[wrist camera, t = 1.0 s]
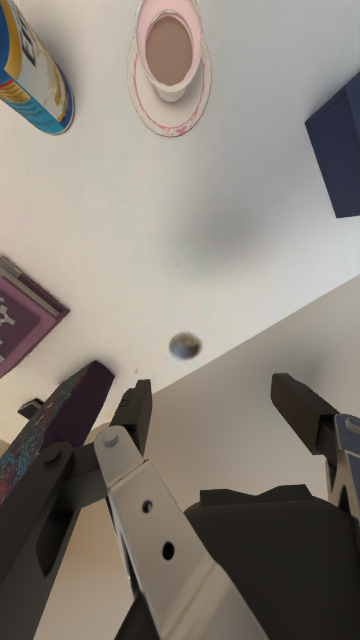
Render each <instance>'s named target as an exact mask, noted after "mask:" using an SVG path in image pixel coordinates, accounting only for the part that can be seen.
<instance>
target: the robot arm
mask: <svg viewBox="0 0 360 640" xmlns="http://www.w3.org/2000/svg"><path fill="white" fill-rule="evenodd" d="M271 400H272V403H273V404H274V406H275V407H276V408H277V410H278V411H279V412H280V414H281V415H282V416H283V417H284V419H285V420H286V421H287V423H288V424H289V425H290V426H291V428H292V429H293V430H294V432H295V433H296V434H297V435H298V437H299V438H300V439H301V440H302V442H303V443H304V444H305V446H306V447H307V448H308V450H309V451H310V452H311V453H312V455H324V456H325V457H326V461H325V467H326V479H327V489H328V502H327V501H325V500H323V499H320V498H317V497H315V496H312V495H311V493H310V492H309V490H308V488H307V487H306V485H305V484H301V485H284V486H278V487H275V488H273V489H271V490H269V491H266V492H264V493H262V494H260V495H257V496H254V495H248V494H245V493H241V492H236V491H233V490H229V489H216V490H215V489H214V490H200V502H197V503H195V504H193V505H192V506H190V507H189V508H188V509H186V510H185V511H184V512H182V510H181V508H180V507H179V505H178V504H177V502H176V500H175V499H174V497H173V496H172V494H171V492H170V491H169V489H168V488H167V486H166V484H165V483H164V481H163V480H162V478H161V476H160V475H159V473H158V472H157V470H156V468H155V467H154V465H153V464H152V462H151V461H150V460H149V459H147V460H146V461H145V460H144V459H143V456H144V450H145V444H146V439H147V434H148V429H149V423H150V417H151V412H152V392H151V382H150V379H146V380H138V381H137V384H136V387H135V388H130V389H129V390H127V391H126V392H125V393H124V395H123V397H122V399H121V402H120V404H119V407H118V408H117V410H116V412H115V415H114V417H113V419H112V421H111V423H110V426H109V427H108V428H107V429H105V430H103V431H102V432H101V433H100V434H99V435H98V436H97V437H96V439H95V441H94V442H92V443H90V444H87V445H84V446H81V447H78V448H75V449H73V447H72V444H71V443H70V442H66V441H63V442H58V443H55V444H53V445H51V446H49V447H47V448H46V449H44V450H43V451H42V452H41V453H40V454H39V455H38V456H37V457H36V458H35V459H34V460H33V462H32V463H31V465H30V466H29V467H28V469H27V470H26V471H25V473H24V474H23V476H22V477H21V478H20V480H19V481H18V482H17V484H16V485H15V486H14V488H13V489H12V491H11V492H10V493H9V495H8V496H7V497H6V499H5V500H4V502H3V503H2V504H1V506H0V640H33V638H34V635H35V633H36V630H37V627H38V625H39V622H40V619H41V617H42V614H43V611H44V608H45V606H46V603H47V600H48V597H49V595H50V592H51V589H52V587H53V584H54V581H55V578H56V576H57V573H58V570H59V568H60V565H61V562H62V559H63V557H64V554H65V551H66V549H67V546H68V543H69V540H70V538H71V535H72V532H73V529H74V527H75V524H76V521H77V519H78V516H79V513H80V510H81V508H83V507H85V506H87V505H90V504H92V503H94V502H96V501H99V500H101V499H103V498H104V499H105V503H106V506H107V509H108V513H109V516H110V520H111V523H112V526H113V530H114V533H115V537H116V540H117V543H118V547H119V551H120V555H121V559H122V563H123V567H124V571H125V574H126V578H127V581H128V584H129V588H130V591H131V595H132V598H133V604H132V606H131V608H130V610H129V612H128V614H127V616H126V617H125V620H124V621H123V623H122V625H121V627H120V629H119V631H118V633H117V635H116V637H115V639H114V640H360V418H358V417H355V416H352V415H348V414H341V413H340V412H338V411H337V410H336V409H335V408H333V407H332V406H331V405H330V404H329V403H327V402H326V401H325V400H324V399H322V398H321V397H319V395H318V394H316V393H315V392H313V390H311V389H310V388H309V387H308V386H306V385H305V384H303V383H301V382H299V381H297V380H295V379H293V378H292V377H291V376H290V375H289V374H287V373H275V374H273V376H272V384H271Z"/></svg>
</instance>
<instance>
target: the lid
mask: <svg viewBox="0 0 360 640" xmlns="http://www.w3.org/2000/svg"><path fill="white" fill-rule="evenodd" d="M345 88H346V92H347V96H348V100H349V104H350V108H351V112H352V116H353V120H354V124H355V128H356V132H357V136H358V140H359V144H360V72H359V73H358V74H356V75H355V76H354V77H353V78H352V79H351V80H350V81H349V82H348V83H347V84H346V85H345Z"/></svg>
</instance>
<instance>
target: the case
mask: <svg viewBox="0 0 360 640" xmlns="http://www.w3.org/2000/svg"><path fill="white" fill-rule="evenodd" d="M305 125H306V128H307V131H308V134H309V137H310V140H311V143H312V146H313V149H314V152H315V155H316V158H317V161H318V164H319V167H320V170H321V173H322V175H323V178H324V181H325V184H326V187H327V190H328V193H329V196H330V199H331V202H332V205H333V208H334V211H335V214H336V217H337V218H344V217H352V216H359V215H360V144H359V140H358V136H357V132H356V128H355V124H354V120H353V116H352V112H351V108H350V104H349V100H348V96H347V92H346V88H345V86H344V87H343V88H342V89H340V90H339V91H338V92H337V93H336V94H335V95H334V96H333V97H332V98H331V99H330V100H329V101H327V102H326V103H325V104H324V105H323V106H322V107H321V108H320V109H319V110H318V111H317V112H316V113H314V114H313V115H312V116H311V117H310V118H309V119H308V120H307V121H306V122H305Z"/></svg>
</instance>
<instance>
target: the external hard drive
mask: <svg viewBox="0 0 360 640" xmlns="http://www.w3.org/2000/svg"><path fill="white" fill-rule="evenodd" d="M42 405H43V404H42V403H41V402H40V401H38V400H37V399H35V400H33V401H31V402H29V403H28V404H26V405H24V406H22V407H21V408H20V409H19V410H18V411H17V412H18V413H19V414H21V415H22V416H24V417H25V418H27V419H28V420H30V419H31V418H32V416H33V415H34V414H35V413H36V412H37V410H38V409H39V408H40V407H41V406H42Z"/></svg>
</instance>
